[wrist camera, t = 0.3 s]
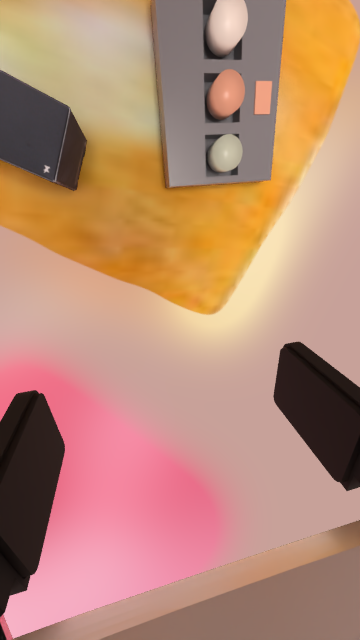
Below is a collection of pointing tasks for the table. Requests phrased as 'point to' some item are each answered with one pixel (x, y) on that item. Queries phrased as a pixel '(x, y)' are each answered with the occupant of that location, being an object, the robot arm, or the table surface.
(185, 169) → the button box
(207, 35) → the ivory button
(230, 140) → the sage button
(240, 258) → the table surface
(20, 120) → the small box
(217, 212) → the table surface
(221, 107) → the terracotta button
